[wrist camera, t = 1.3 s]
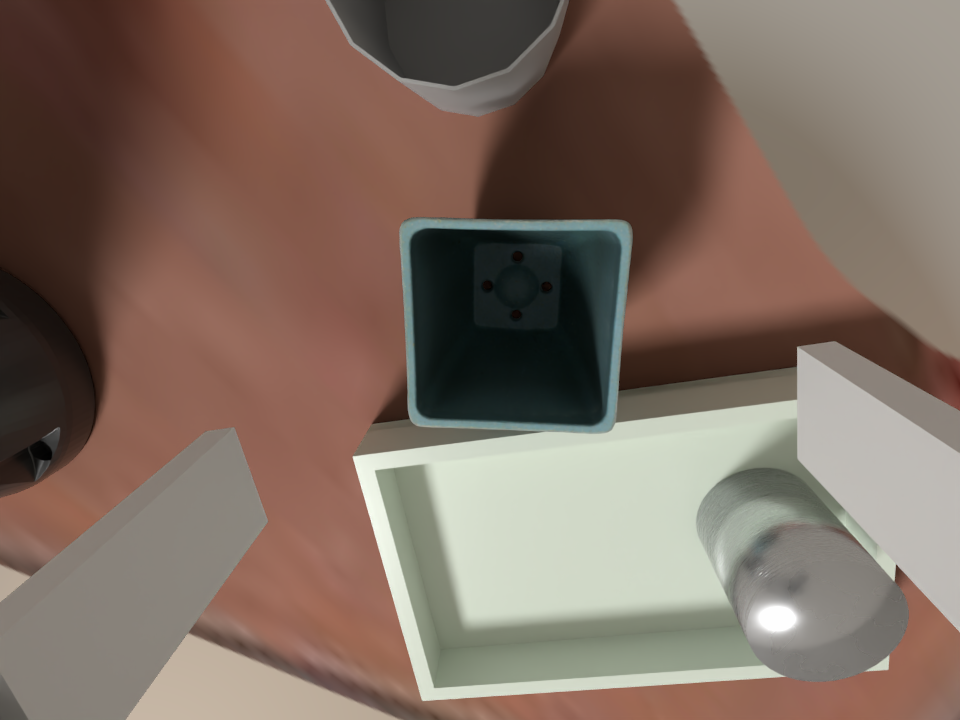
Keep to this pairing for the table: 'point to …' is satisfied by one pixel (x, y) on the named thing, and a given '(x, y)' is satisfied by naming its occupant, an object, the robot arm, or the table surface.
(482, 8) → the cup
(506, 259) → the flower pot
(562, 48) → the table surface
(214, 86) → the table surface
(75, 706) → the robot arm
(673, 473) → the shallow serving tray
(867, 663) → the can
